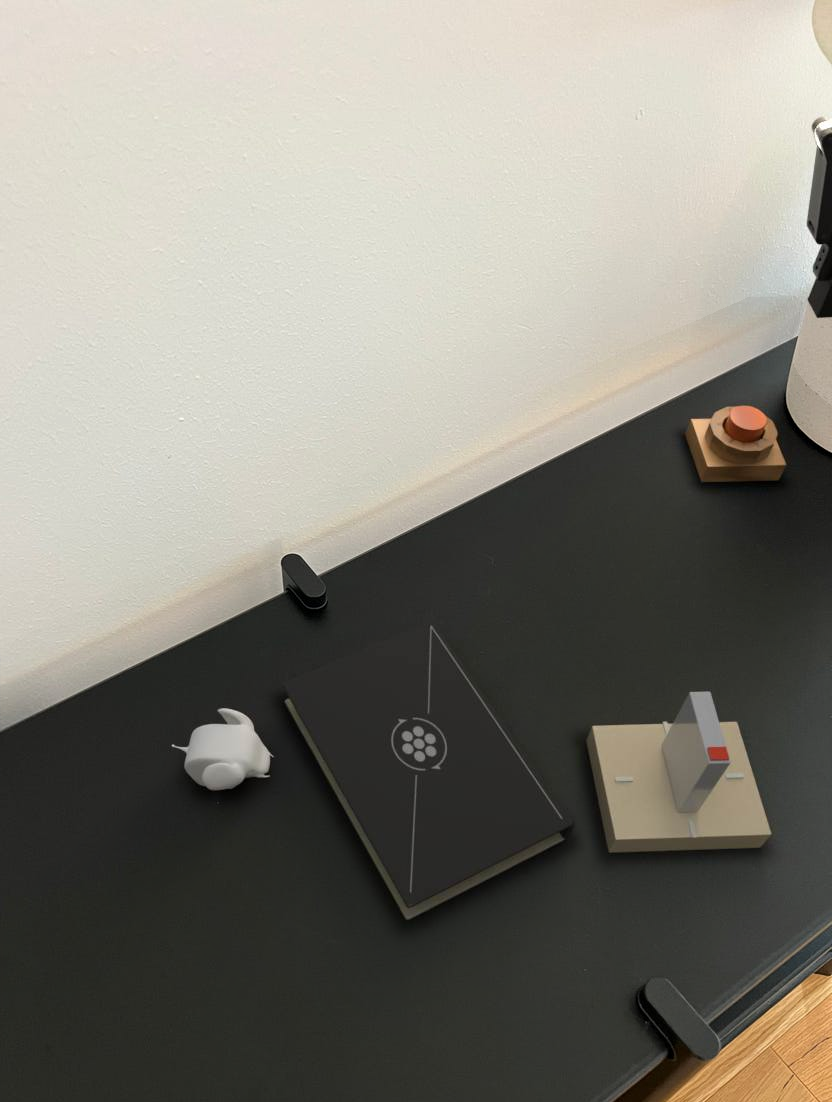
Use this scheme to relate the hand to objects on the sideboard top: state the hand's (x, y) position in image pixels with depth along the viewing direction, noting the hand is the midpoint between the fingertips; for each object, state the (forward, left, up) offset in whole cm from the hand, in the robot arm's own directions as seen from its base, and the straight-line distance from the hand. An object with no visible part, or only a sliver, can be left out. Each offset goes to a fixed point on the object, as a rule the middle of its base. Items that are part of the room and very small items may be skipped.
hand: (820, 308), depth 89 cm
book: (+38, +36, -18) cm, 55 cm away
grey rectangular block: (+18, +39, -15) cm, 45 cm away
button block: (+3, +1, -17) cm, 18 cm away
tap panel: (+18, +39, -17) cm, 46 cm away
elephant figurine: (+54, +36, -18) cm, 67 cm away
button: (+3, +1, -14) cm, 14 cm away
